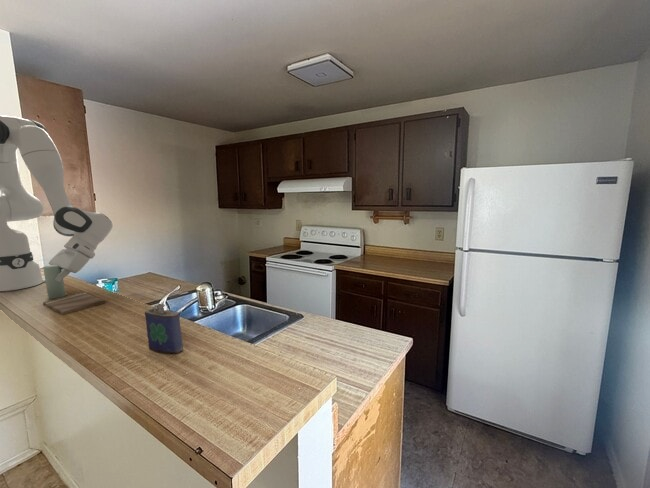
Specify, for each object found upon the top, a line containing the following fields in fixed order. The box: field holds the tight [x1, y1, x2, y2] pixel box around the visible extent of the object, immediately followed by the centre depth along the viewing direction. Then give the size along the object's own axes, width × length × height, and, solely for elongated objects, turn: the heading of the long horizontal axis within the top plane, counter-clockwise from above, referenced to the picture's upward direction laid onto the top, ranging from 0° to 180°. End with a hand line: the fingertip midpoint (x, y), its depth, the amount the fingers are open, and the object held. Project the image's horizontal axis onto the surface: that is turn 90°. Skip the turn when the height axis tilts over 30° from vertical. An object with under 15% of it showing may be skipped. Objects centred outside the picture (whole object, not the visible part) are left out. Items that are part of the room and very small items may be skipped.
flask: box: [144, 303, 184, 355], centre depth 73 cm, size 10×3×12 cm, turn 69°
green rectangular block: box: [42, 264, 67, 300], centre depth 117 cm, size 5×5×12 cm
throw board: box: [42, 292, 106, 315], centre depth 109 cm, size 18×12×1 cm, turn 57°
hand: (51, 279), depth 116 cm, fingers open, 8 cm apart
